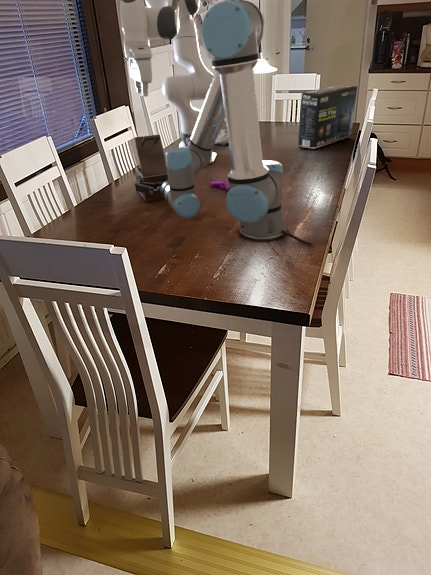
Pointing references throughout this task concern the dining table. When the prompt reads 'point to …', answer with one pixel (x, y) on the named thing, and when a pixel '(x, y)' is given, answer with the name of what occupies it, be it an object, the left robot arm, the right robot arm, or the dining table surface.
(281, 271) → the dining table surface
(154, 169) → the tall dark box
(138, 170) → the chest
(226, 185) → the handgun
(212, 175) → the dining table surface
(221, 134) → the fossil
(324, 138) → the router box
